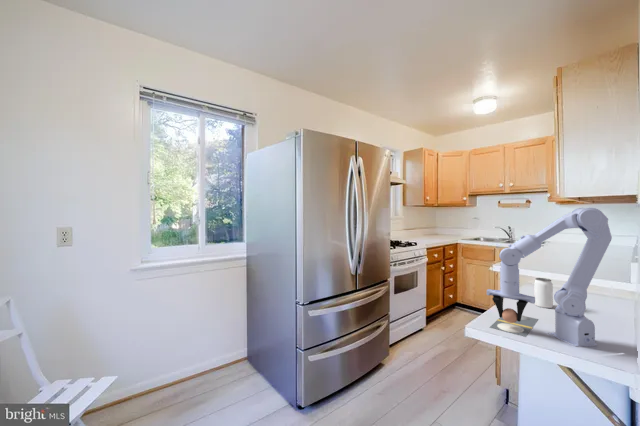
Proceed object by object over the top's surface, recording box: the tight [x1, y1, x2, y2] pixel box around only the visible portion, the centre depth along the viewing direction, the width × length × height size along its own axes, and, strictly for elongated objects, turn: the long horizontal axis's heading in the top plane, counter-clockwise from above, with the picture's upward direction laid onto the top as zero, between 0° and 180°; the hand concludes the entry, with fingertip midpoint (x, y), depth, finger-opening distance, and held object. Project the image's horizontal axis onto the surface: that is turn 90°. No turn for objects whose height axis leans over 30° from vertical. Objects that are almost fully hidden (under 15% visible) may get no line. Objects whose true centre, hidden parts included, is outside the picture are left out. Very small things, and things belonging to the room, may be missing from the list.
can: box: [533, 277, 554, 309], centre depth 125 cm, size 6×6×12 cm
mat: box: [489, 314, 539, 338], centre depth 106 cm, size 22×11×1 cm, turn 133°
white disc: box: [497, 323, 524, 334], centre depth 101 cm, size 8×8×1 cm
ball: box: [502, 307, 517, 323], centre depth 101 cm, size 5×5×5 cm
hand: (510, 318), depth 101 cm, fingers closed on ball, 5 cm apart
